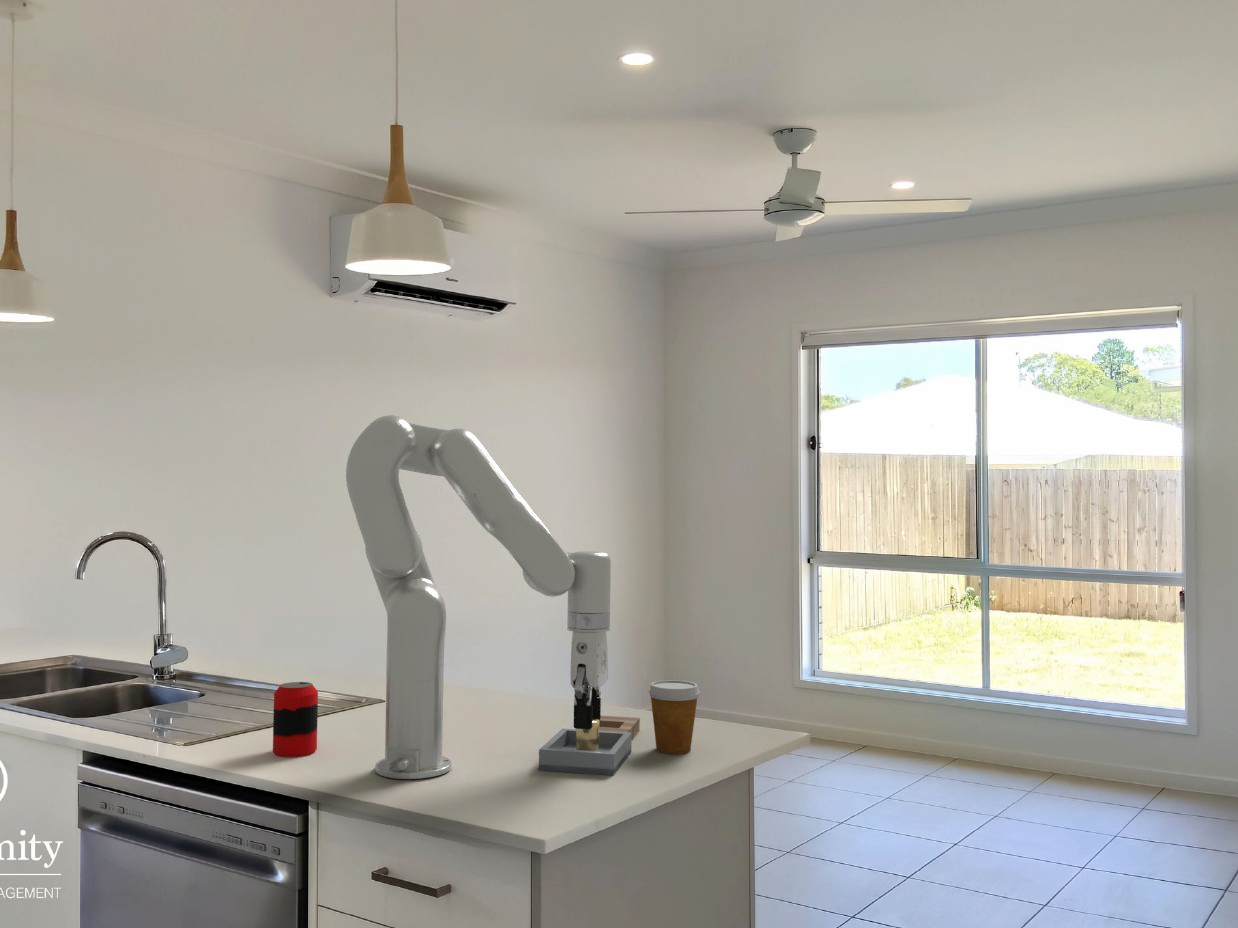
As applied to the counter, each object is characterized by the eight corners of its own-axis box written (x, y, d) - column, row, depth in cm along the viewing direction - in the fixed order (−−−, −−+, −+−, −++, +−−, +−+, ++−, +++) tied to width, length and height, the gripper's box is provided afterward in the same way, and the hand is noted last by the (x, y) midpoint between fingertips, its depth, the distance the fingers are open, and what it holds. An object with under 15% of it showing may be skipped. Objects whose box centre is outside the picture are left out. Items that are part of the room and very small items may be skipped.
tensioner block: (626, 747, 193) (626, 733, 193) (573, 743, 195) (574, 730, 195) (639, 730, 207) (639, 717, 207) (590, 727, 209) (590, 714, 209)
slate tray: (613, 775, 174) (614, 754, 174) (538, 770, 177) (539, 749, 177) (631, 751, 190) (631, 732, 190) (562, 747, 193) (562, 728, 193)
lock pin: (595, 758, 181) (596, 723, 181) (573, 756, 182) (574, 721, 182) (600, 752, 185) (601, 718, 185) (578, 750, 186) (579, 717, 186)
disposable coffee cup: (707, 748, 194) (708, 683, 194) (684, 759, 185) (685, 691, 186) (662, 741, 198) (663, 677, 199) (638, 751, 190) (639, 685, 191)
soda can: (325, 749, 189) (327, 683, 189) (298, 759, 182) (299, 690, 182) (291, 745, 192) (293, 679, 192) (263, 754, 185) (264, 686, 185)
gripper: (599, 628, 175) (597, 736, 174) (619, 616, 192) (617, 715, 191) (555, 627, 176) (554, 734, 176) (579, 615, 193) (577, 712, 193)
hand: (587, 723), depth 184 cm, fingers open, 6 cm apart
